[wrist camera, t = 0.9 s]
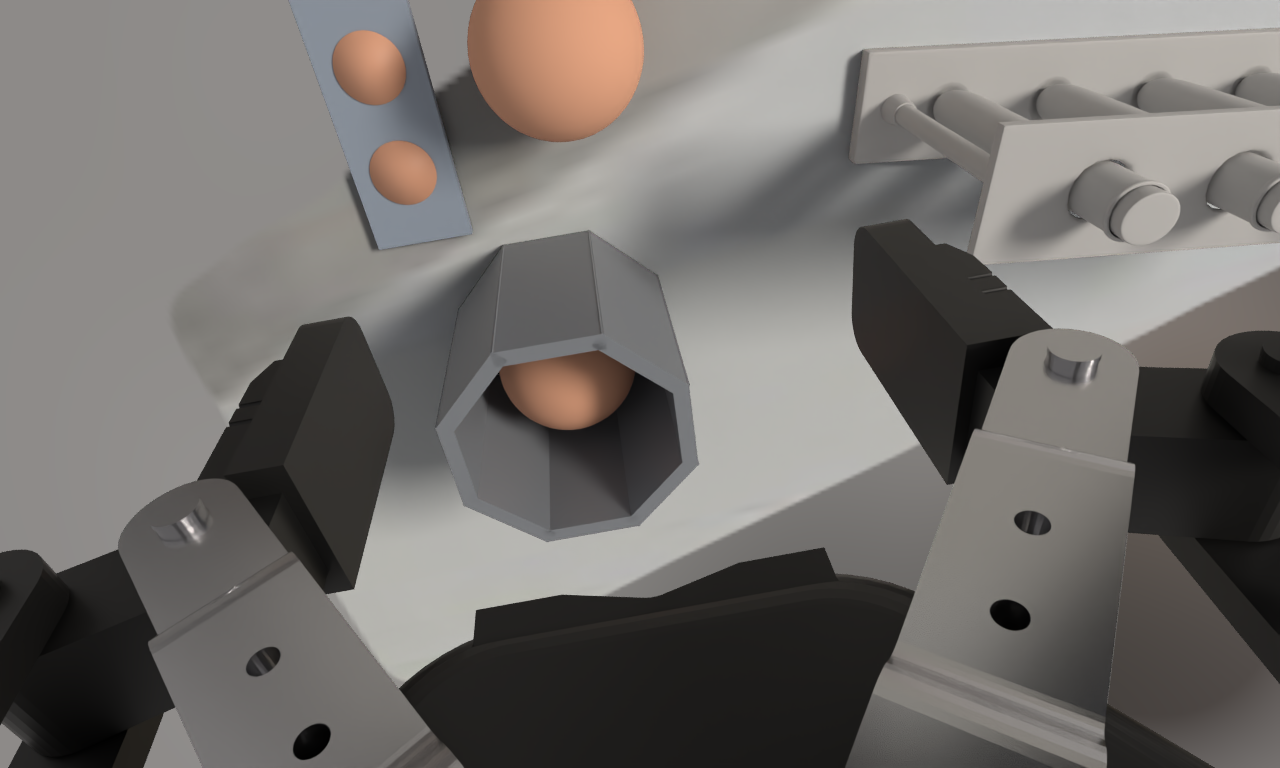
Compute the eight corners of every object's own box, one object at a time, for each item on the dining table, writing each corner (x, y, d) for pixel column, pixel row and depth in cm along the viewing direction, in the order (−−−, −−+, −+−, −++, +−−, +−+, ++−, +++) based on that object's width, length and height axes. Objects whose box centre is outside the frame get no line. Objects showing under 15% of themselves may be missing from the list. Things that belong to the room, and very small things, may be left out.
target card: (287, -14, 26) (283, -13, 26) (399, -33, 26) (396, -32, 26) (380, 245, 32) (378, 250, 32) (472, 230, 32) (472, 234, 32)
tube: (441, 255, 32) (411, 366, 25) (650, 219, 33) (681, 319, 25) (493, 421, 38) (481, 553, 30) (673, 390, 38) (705, 514, 30)
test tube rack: (847, 158, 32) (1002, 301, 21) (861, 48, 30) (1046, 146, 19) (1379, 125, 34) (1772, 241, 23) (1435, 19, 32) (1905, 93, 21)
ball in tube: (487, 282, 33) (477, 351, 28) (619, 259, 34) (632, 325, 29) (517, 389, 37) (513, 468, 32) (637, 369, 37) (651, 445, 32)
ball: (454, -42, 26) (434, -24, 21) (621, -70, 26) (640, -58, 22) (496, 128, 30) (487, 178, 25) (643, 104, 30) (664, 148, 25)
